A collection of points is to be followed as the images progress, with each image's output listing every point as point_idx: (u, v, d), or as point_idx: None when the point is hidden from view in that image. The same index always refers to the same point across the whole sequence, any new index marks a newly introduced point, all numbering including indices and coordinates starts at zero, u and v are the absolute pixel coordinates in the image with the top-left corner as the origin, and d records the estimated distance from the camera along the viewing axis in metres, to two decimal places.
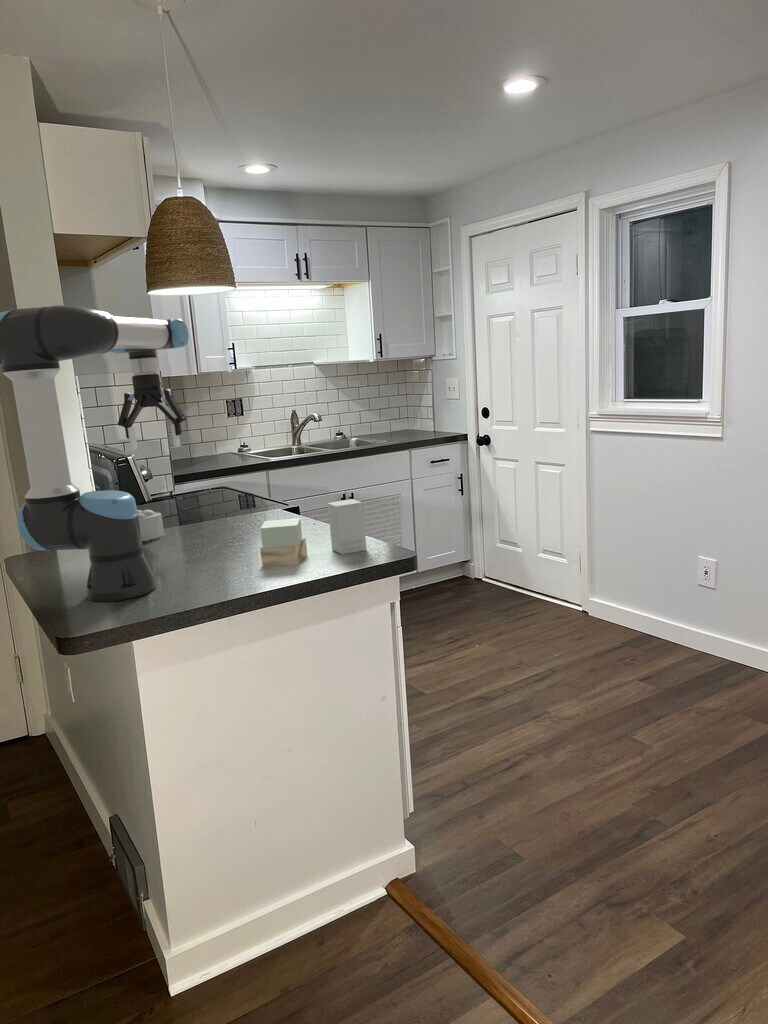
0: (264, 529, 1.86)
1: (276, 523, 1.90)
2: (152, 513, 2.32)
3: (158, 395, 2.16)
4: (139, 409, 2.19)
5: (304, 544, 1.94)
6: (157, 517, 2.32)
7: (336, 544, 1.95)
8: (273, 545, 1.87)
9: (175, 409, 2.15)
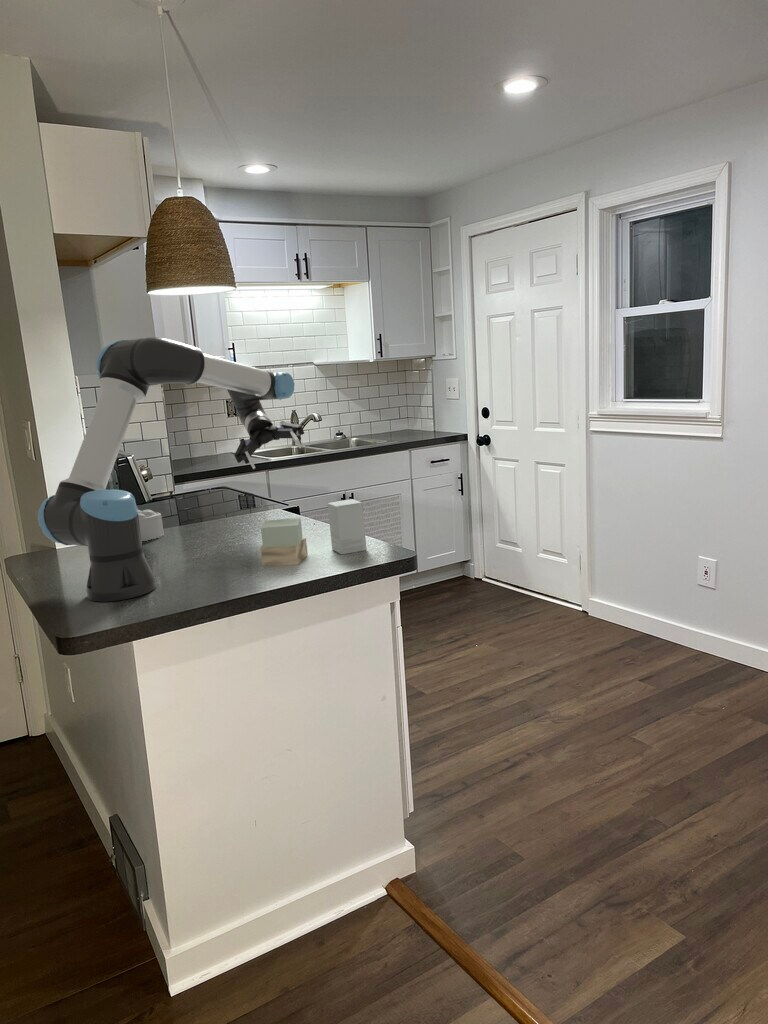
0: (264, 529, 1.86)
1: (277, 523, 1.91)
2: (152, 513, 2.32)
3: (274, 427, 2.17)
4: (255, 444, 2.14)
5: (305, 544, 1.94)
6: (157, 517, 2.32)
7: (336, 544, 1.95)
8: (273, 545, 1.87)
9: (293, 424, 2.14)
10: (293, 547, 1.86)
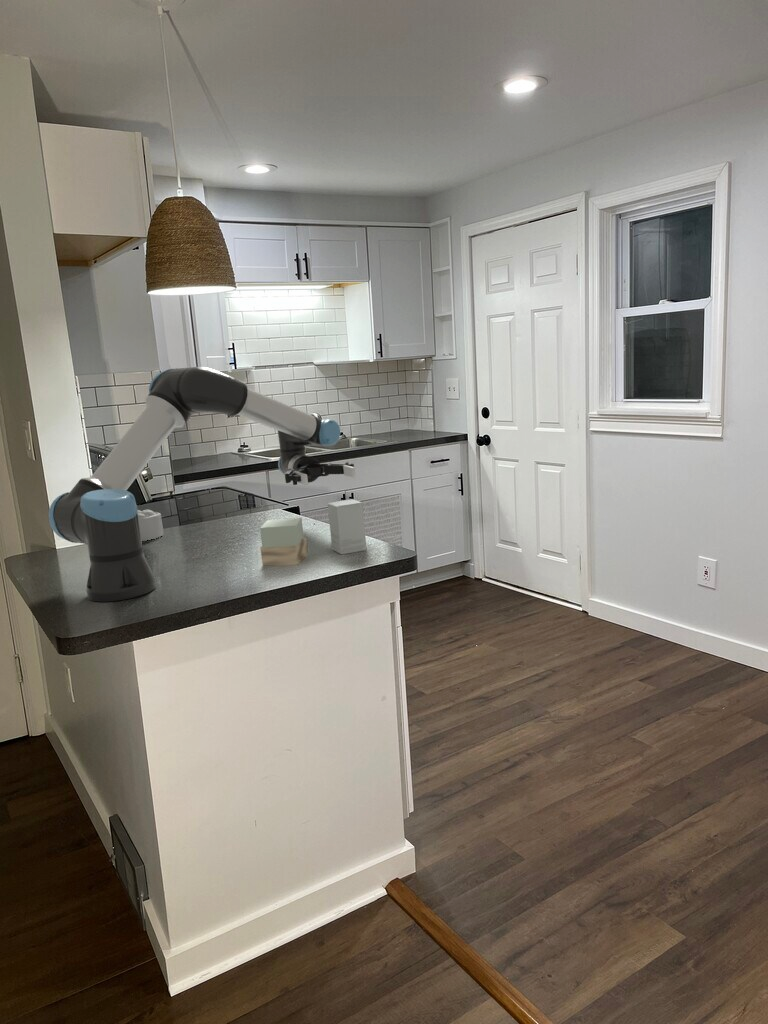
0: (264, 529, 1.86)
1: (277, 523, 1.90)
2: (152, 513, 2.32)
3: None
4: (304, 473, 2.12)
5: (305, 544, 1.94)
6: (157, 517, 2.32)
7: (336, 544, 1.95)
8: (272, 545, 1.87)
9: None
10: (293, 547, 1.86)
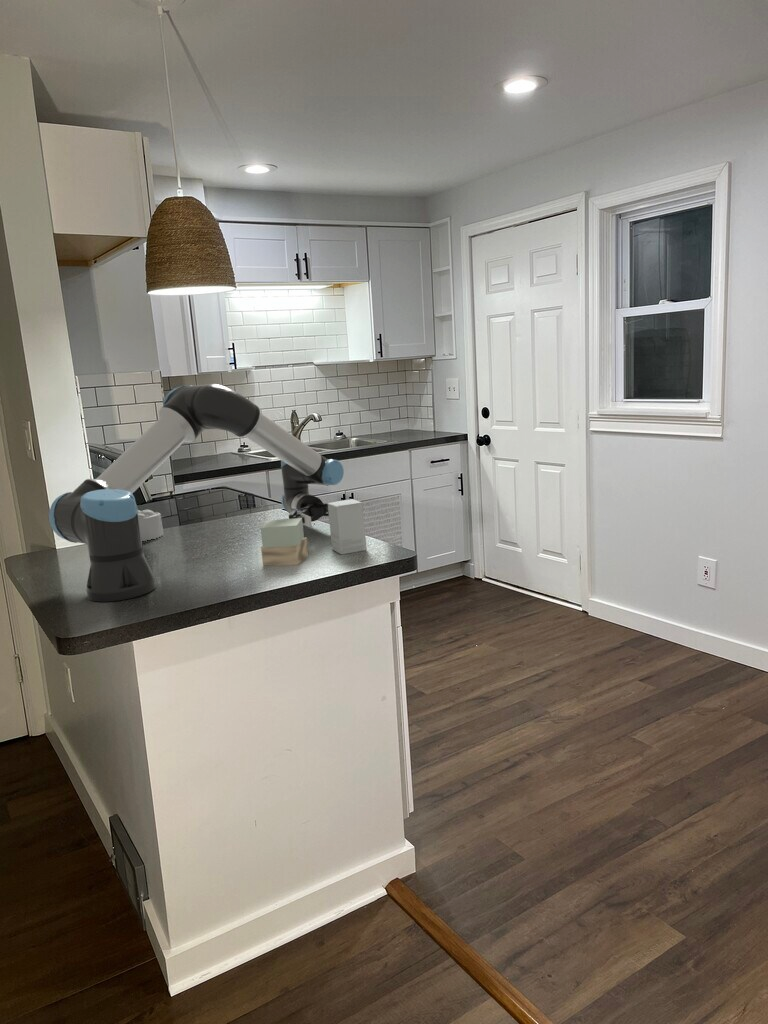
0: (264, 529, 1.86)
1: (277, 523, 1.90)
2: (151, 513, 2.32)
3: None
4: (308, 513, 2.14)
5: (305, 544, 1.94)
6: (156, 517, 2.32)
7: (336, 544, 1.95)
8: (273, 545, 1.87)
9: None
10: (293, 547, 1.86)
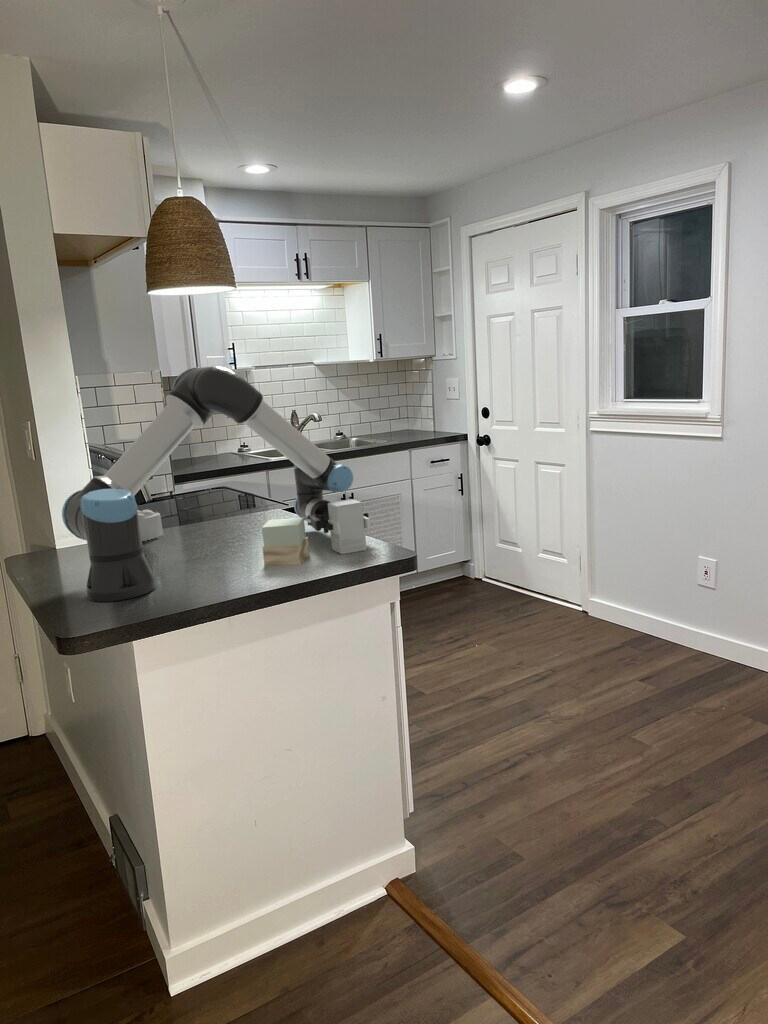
0: (266, 528, 1.87)
1: (279, 522, 1.91)
2: (151, 513, 2.32)
3: None
4: (328, 520, 2.03)
5: (307, 544, 1.94)
6: (156, 517, 2.32)
7: (336, 544, 1.95)
8: (274, 544, 1.87)
9: None
10: (295, 547, 1.86)
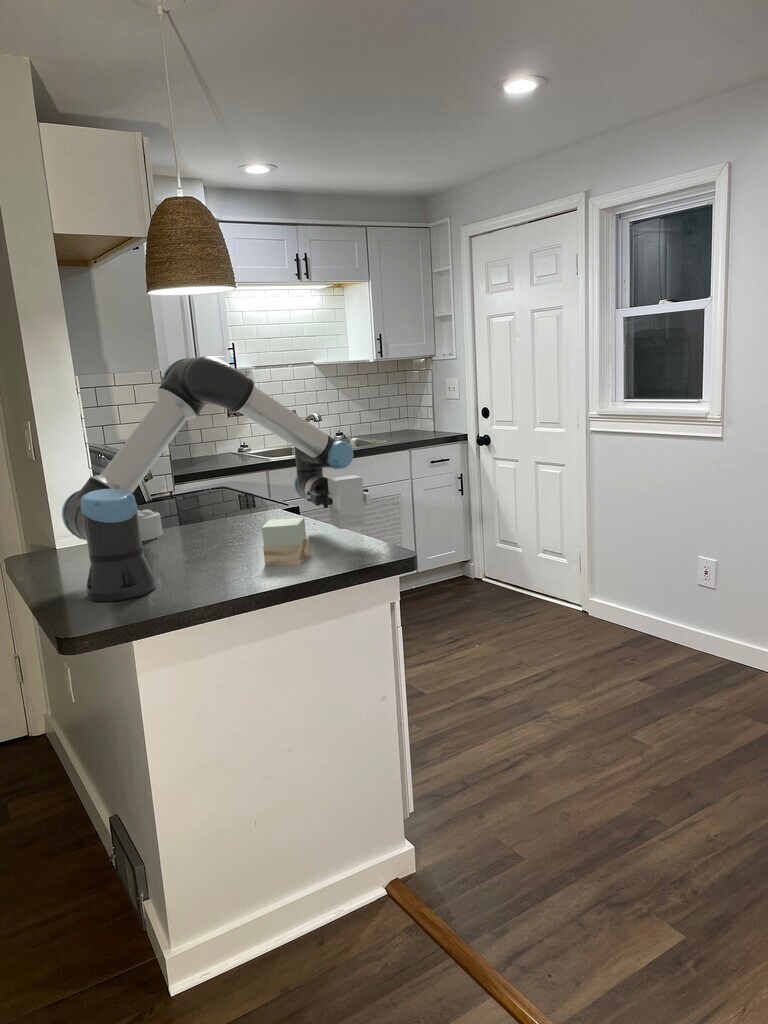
0: (265, 528, 1.87)
1: (279, 522, 1.91)
2: (151, 513, 2.32)
3: None
4: None
5: (308, 544, 1.94)
6: (156, 517, 2.32)
7: (336, 519, 1.94)
8: (274, 544, 1.87)
9: None
10: (295, 547, 1.86)
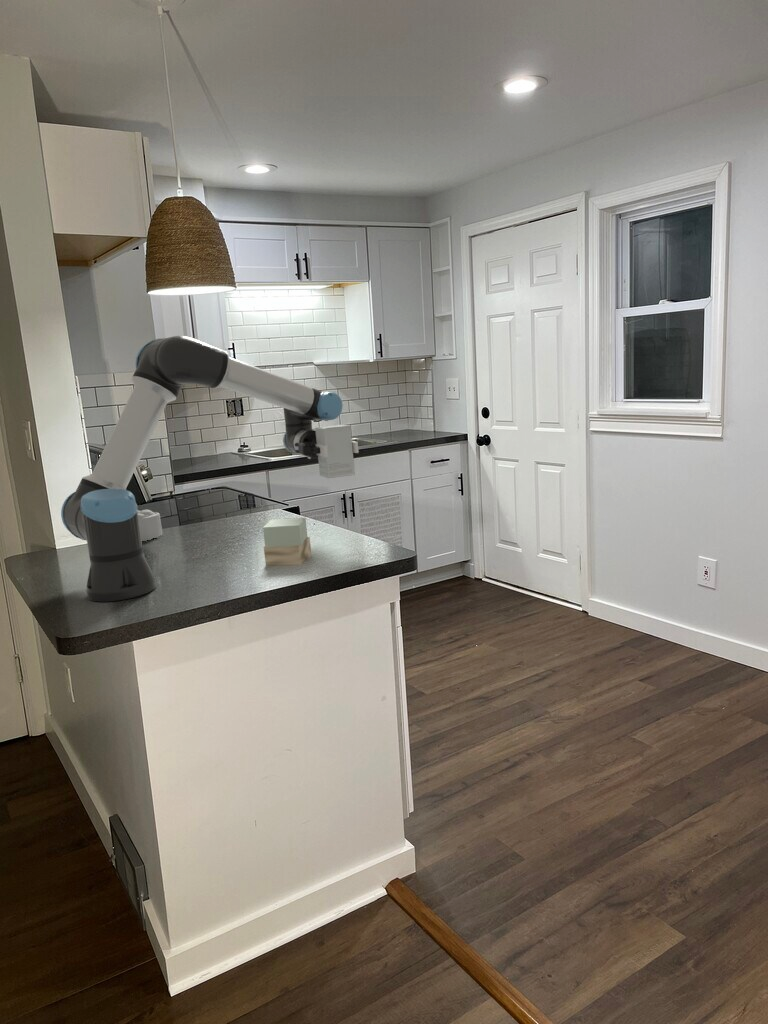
0: (266, 528, 1.87)
1: (280, 522, 1.91)
2: (151, 513, 2.32)
3: None
4: None
5: (308, 544, 1.94)
6: (156, 517, 2.32)
7: (324, 468, 1.91)
8: (275, 544, 1.87)
9: None
10: (296, 547, 1.86)
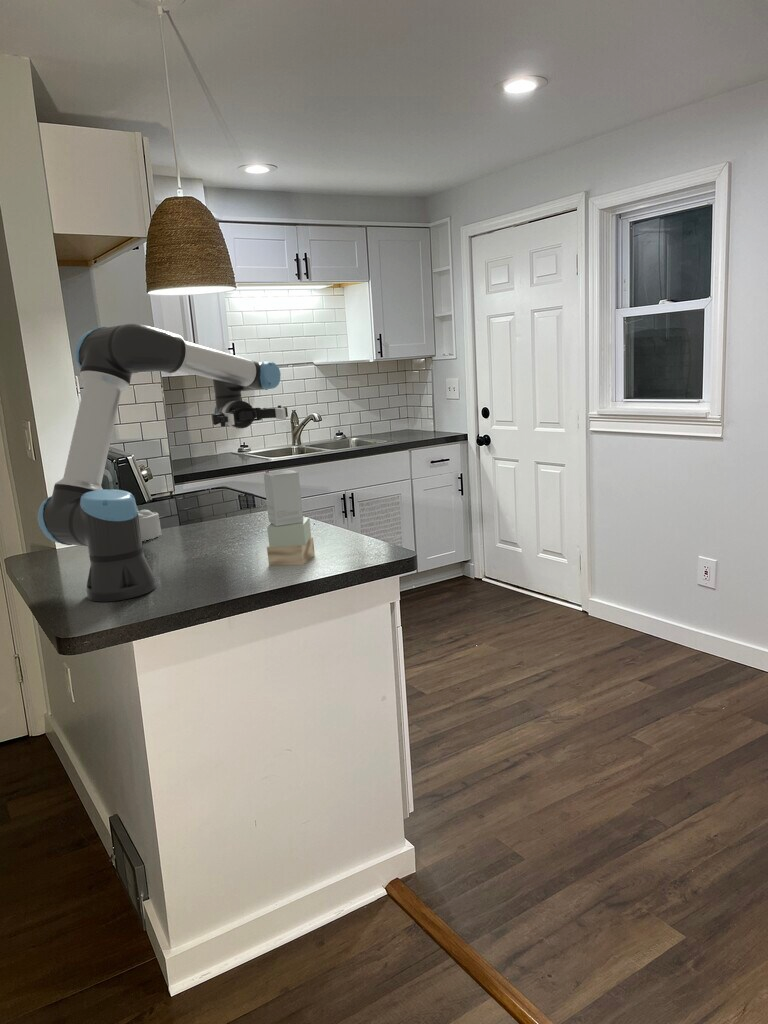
0: (271, 528, 1.86)
1: None
2: (150, 513, 2.32)
3: None
4: (235, 416, 2.03)
5: (311, 544, 1.93)
6: (155, 517, 2.32)
7: (272, 515, 1.87)
8: (280, 544, 1.87)
9: None
10: (299, 547, 1.86)
